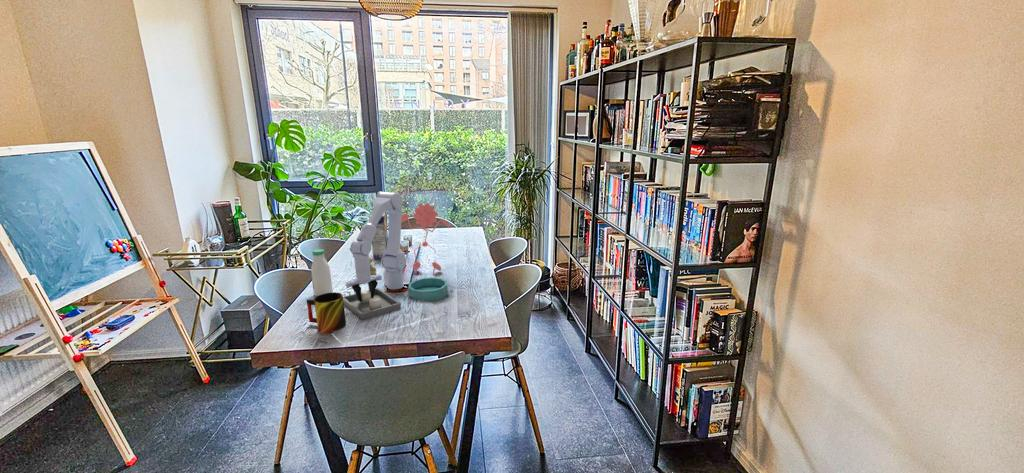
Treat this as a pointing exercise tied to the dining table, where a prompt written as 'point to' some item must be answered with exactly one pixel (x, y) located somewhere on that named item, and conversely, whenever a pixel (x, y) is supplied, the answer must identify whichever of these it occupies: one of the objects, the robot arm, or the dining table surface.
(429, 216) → the figurine
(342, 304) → the mug
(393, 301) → the tray
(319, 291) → the milk bottle
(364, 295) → the stone
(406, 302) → the dining table surface
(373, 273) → the olive yellow vase
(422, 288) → the bowl
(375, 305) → the stone
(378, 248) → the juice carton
